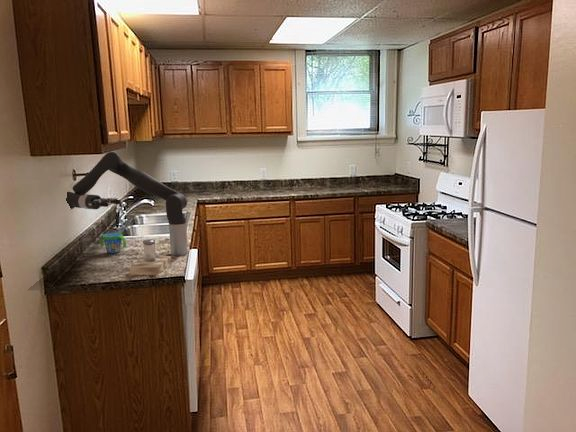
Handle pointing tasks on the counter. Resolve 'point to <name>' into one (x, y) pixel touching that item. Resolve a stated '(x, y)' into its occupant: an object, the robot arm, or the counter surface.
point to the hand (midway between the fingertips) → (114, 203)
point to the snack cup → (113, 242)
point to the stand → (150, 266)
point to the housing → (149, 250)
